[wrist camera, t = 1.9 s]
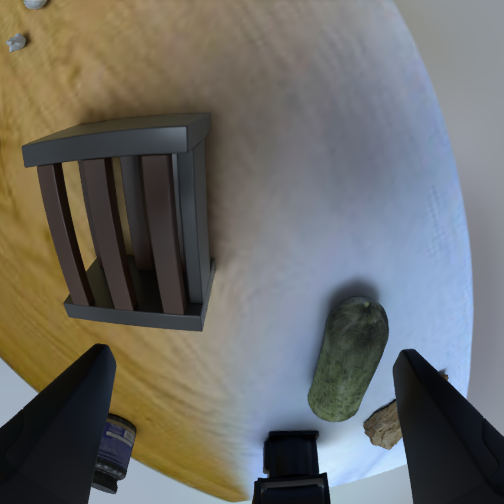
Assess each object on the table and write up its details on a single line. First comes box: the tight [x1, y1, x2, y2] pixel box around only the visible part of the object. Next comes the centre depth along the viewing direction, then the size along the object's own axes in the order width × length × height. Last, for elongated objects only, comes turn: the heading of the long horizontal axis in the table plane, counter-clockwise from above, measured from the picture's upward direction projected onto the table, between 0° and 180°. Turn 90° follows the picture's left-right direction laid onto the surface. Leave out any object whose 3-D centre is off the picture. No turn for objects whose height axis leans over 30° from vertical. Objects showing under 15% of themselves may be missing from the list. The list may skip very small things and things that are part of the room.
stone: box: [363, 373, 448, 450], centre depth 30 cm, size 14×7×5 cm, turn 152°
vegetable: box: [308, 297, 389, 422], centre depth 23 cm, size 14×5×5 cm
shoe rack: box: [22, 113, 215, 331], centre depth 17 cm, size 9×11×6 cm
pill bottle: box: [91, 414, 136, 494], centre depth 31 cm, size 6×6×11 cm
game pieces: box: [6, 0, 47, 52], centre depth 11 cm, size 8×2×2 cm
